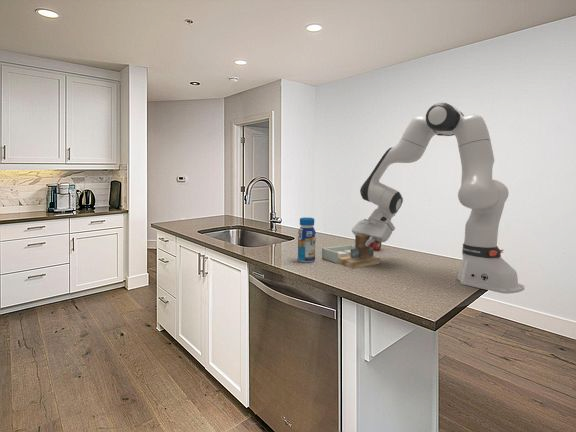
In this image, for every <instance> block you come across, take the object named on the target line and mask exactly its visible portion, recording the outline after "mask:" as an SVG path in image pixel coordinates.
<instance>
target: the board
mask: <svg viewBox="0 0 576 432" xmlns="http://www.w3.org/2000/svg"><path fill="white" fill-rule="evenodd" d="M380 262H381V259H380V257H375V256H374V255H373V256H371V257H366V258H355V259H353V258H351V256H348V257H341V258H338V263H337V264H339V265H342V266H345V267H348V268H351V269H357V268H362V267H363V268H364V267H367V266H368V267H370V266H374V265H380Z"/></svg>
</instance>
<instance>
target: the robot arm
mask: <svg viewBox="0 0 576 432" xmlns="http://www.w3.org/2000/svg"><path fill="white" fill-rule="evenodd" d="M485 121H486V120H485V119H484V118H483V117H482V116H481V115H479V114H468V115H465V114H464V113H463V112H462V111H461V110H459V109H458V108H457V107H456V106H454V105H451V104H449V103H448V102H438V103H435V104H433V105H431V106H430V107H429V108H428V110H427V111H426V113H425V116H424V115H416V116H415V117H413V118H412V119H411V121H410V122H408V125H407V127H406V128H405V130H404V132H403V134H402V136H401V138H400V140H399V141H398V142H397V144H395V145H394V146H393V147H389V148H388V149H387V150H386V151H385V153H384V154H383V155H382V156H381V158H380V159H379V161H378V162H377V164H376V166H374V168H373V170H372V171H371V173H370V174H369V176H368V177H367V179H366V180H365V181H364V183H363V184H362V186H360V189H359V191H360V192H359V193H360V196H361V198H362V199H363V200H364V201H367V202H369V203H372V204H374V205H376V206H377V207H376V208H375V209H374V210H373V212H372V213H371V214H370V216H369V217H368V218H363V219H362V220H361V219H360V220H359V221H358V222H357V223H356V224H354V226H353V227H352V228H351V232H352V234H353V235H354V236H355V235H361V234H364V235H368V236H369V240H367V241H365V242H364V243H363V244H364V246H368V245H369V244H371V243H372V242H374V240H376V241H381V242H382V243H385V242H387V241H388V240H389V239H390V237H391V236H392V234H393V232H394V231H395V230H396V227H395V226H394V224H393V222H392V219H393V217H395V216H396V215H397V213H398V212H399V210H400V208H401V207H402V204H403V202H404V197H403V196H402V194H401V192H400V191H399V190H397V189H395V188H393V187H391V186H388V185H386V184H384V183H381V182H380V180H381V178H382V176H383V175H384V174H385V172H386V170H387V169H388V168H389V166H391V165H393V164H397V163H399V164H411V163H416V162H418V160H420V159H421V158H422V157H423V155H424V153H425V152H426V150H427V147H428V145H429V143H430V142H431V139H432V138H433V137H434V136H435V135H436V136H439V137H441V136H443V137H445V136H446V137H452V136H455V138H456V141H457V147H458V152H459V158H460V163H461V181H460V183H461V184H460V187H459V189H458V193H457V198H458V201H459V203H460V204H461V205H462V206H463V207H465V208H468V209H471V211H470V214H469V217H468V219H467V220H466V223H465V227H464V242H463V243H462V253H461V254H462V261H461V265H460V269H459V273H458V274H457V276H456V279H457V280H458V281H459V283H460V284H461V285H463V286H464V285H465V286H469V287H474V288H478V289H481V290H487V291H491V292H494V293H500V294H504V295H505V294H508V295H509V294H515V293H520V292H523V291H525V285H523V284H522V283H519V277H518V272H517V271H516V269H515V268H513V266H511V265H510V264H509V263H508V262H507V261H506V260H504V259H503V257H502V255H501V254H502V253H504V249H500V248H499V246H497V244H498V235H499V225H500V222H501V218H502V214H503V211H504V207H505V203H506V201H508V200H507V199H509V189H508V187H507V186H506V185H505V184H504V183H503V182H502V181H500V180H497V179H493V168H494V163H495V157H494V150H493V147H492V146H493V145H492V142H491V141H492V139H491V136H490V132H489V129H488V126H487V124H486V122H485Z"/></svg>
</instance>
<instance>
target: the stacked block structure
mask: <svg viewBox="0 0 576 432" xmlns="http://www.w3.org/2000/svg"><path fill="white" fill-rule="evenodd" d="M354 239H355V241H354V242H355V245H354V246H355V249H351V258H353V259H355V258H366V257H371V256H373V257H374V251H373V247H369V245H368V246H364V244H363V243H364V242H365V241H367V240H369V236H368V235H364V234H361V235H354Z"/></svg>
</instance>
